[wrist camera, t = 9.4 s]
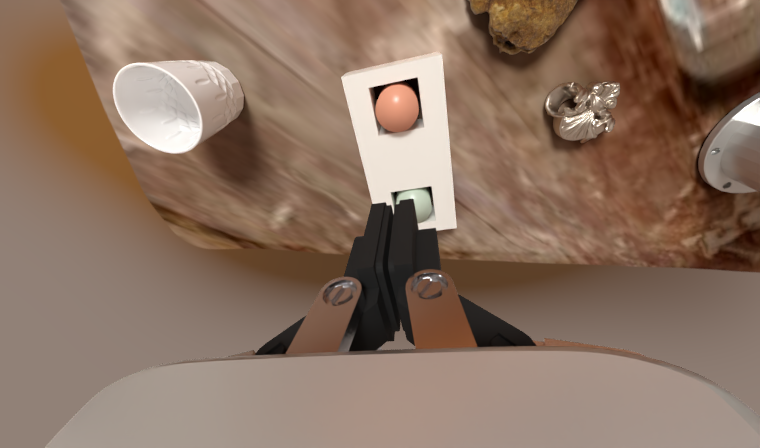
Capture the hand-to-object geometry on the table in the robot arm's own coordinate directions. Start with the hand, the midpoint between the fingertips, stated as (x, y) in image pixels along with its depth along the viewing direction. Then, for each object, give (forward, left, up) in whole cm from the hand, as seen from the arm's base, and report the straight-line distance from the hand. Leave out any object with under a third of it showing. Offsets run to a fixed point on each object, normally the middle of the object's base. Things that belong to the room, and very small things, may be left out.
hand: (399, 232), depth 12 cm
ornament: (-19, +4, -27) cm, 34 cm away
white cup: (+22, -5, -27) cm, 35 cm away
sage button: (+1, +12, -26) cm, 29 cm away
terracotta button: (+1, 0, -26) cm, 26 cm away
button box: (+1, +6, -27) cm, 27 cm away
